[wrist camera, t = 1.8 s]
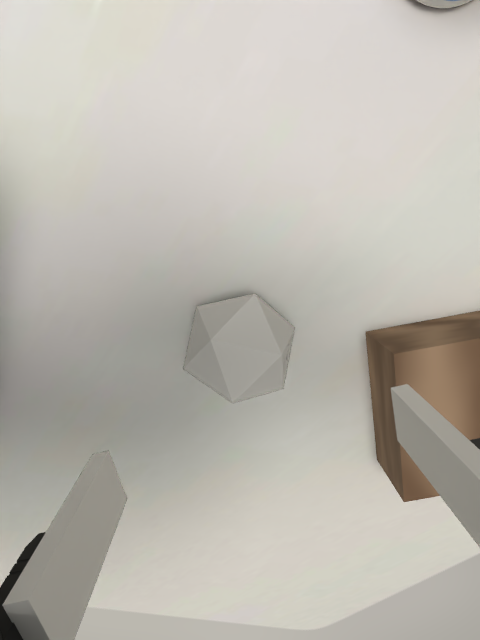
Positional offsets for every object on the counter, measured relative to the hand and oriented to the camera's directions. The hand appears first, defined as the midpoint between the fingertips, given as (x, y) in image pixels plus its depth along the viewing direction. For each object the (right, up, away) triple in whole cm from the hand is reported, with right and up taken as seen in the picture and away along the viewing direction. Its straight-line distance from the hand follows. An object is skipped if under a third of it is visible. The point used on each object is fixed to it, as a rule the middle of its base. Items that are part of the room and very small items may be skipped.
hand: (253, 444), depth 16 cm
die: (-1, +5, +16) cm, 17 cm away
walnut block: (+19, -1, +18) cm, 26 cm away
